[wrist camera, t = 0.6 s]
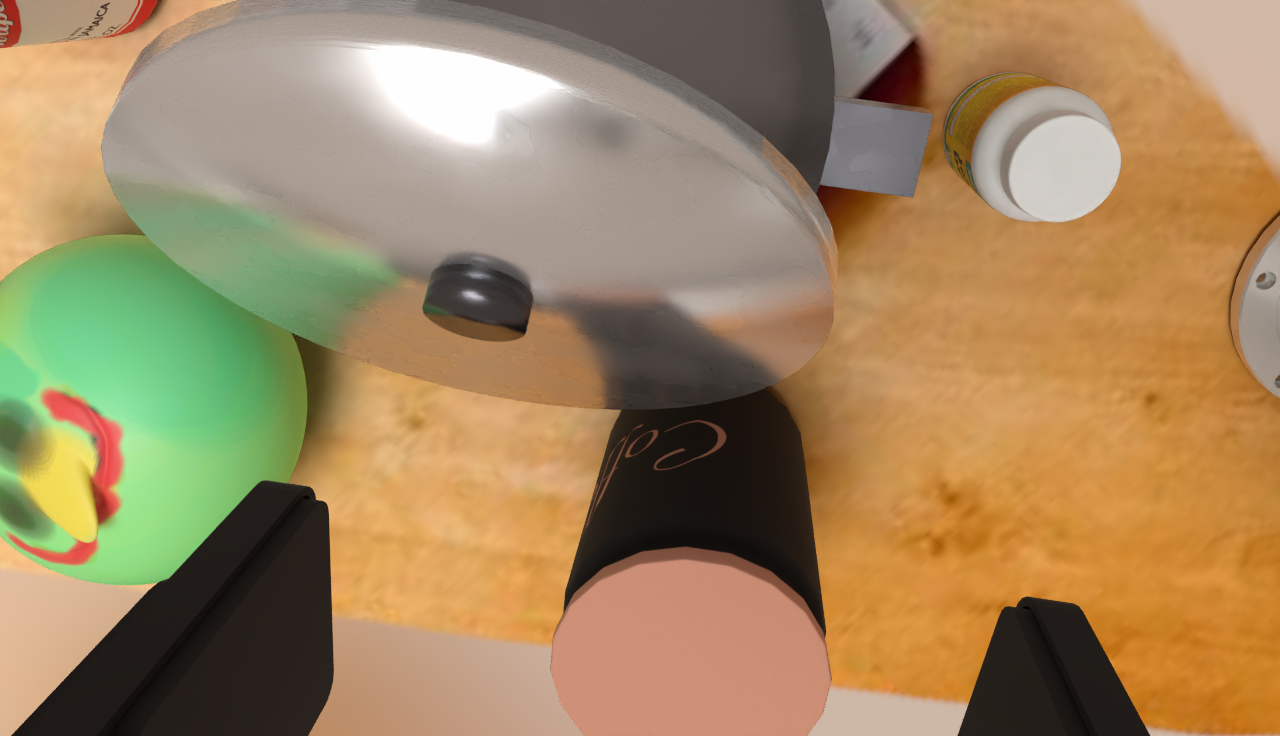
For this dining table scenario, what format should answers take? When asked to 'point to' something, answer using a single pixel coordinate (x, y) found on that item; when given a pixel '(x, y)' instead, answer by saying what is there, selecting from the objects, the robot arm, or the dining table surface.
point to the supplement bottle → (1032, 147)
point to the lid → (474, 201)
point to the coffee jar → (696, 580)
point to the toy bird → (134, 409)
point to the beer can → (68, 20)
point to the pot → (759, 79)
